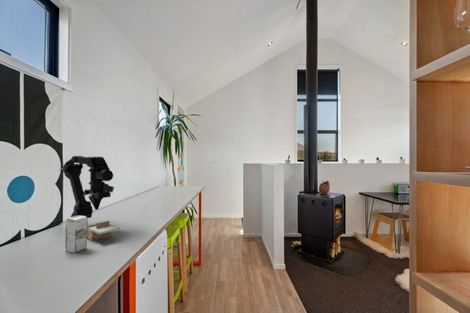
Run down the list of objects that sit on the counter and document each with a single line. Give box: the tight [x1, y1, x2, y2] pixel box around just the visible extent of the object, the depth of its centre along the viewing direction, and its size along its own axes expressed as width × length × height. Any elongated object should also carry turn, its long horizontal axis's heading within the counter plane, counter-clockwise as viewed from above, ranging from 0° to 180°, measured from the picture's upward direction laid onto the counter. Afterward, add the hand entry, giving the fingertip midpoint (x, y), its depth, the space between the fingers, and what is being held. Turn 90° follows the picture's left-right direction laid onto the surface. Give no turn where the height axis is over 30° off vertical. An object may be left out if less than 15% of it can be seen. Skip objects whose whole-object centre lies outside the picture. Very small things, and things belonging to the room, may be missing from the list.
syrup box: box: [64, 216, 88, 254], centre depth 105 cm, size 6×6×14 cm
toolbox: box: [87, 223, 112, 242], centre depth 122 cm, size 12×9×5 cm
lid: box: [88, 220, 121, 235], centre depth 118 cm, size 12×9×4 cm
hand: (96, 209), depth 126 cm, fingers closed
